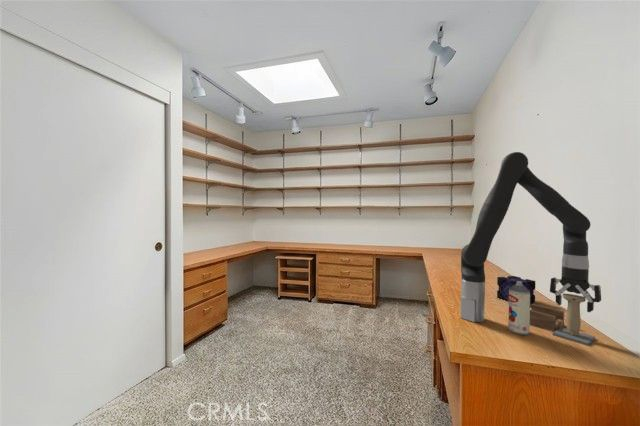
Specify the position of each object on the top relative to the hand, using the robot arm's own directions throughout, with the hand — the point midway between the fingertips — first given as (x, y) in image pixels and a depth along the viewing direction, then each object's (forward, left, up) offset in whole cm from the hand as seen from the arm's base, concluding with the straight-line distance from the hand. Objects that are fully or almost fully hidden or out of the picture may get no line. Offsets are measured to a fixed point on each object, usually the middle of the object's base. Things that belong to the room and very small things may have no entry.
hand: (573, 308), depth 103 cm
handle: (0, 0, -11) cm, 11 cm away
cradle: (+5, +11, -11) cm, 16 cm away
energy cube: (+31, +30, -11) cm, 45 cm away
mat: (0, 0, -11) cm, 11 cm away
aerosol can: (-13, +13, -11) cm, 22 cm away
